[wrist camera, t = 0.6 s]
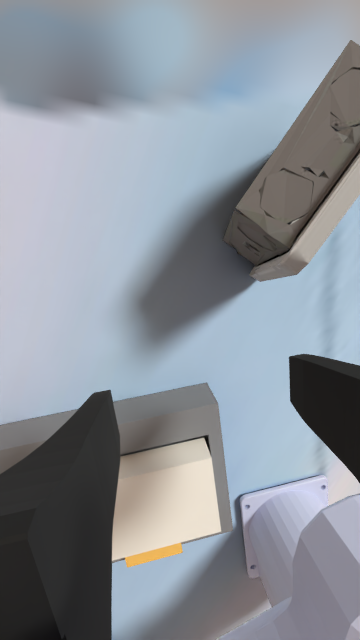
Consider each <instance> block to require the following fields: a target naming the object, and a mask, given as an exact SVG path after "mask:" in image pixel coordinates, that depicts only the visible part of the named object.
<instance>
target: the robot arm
mask: <svg viewBox="0 0 360 640" xmlns="http://www.w3.org/2000/svg"><path fill="white" fill-rule="evenodd" d="M289 369H290V401H291V403H292V404H293V406H294V407H295V409H296V411H297V412H298V413H299V415H300V416H301V418H302V419H303V420H304V422H305V423H306V424H307V425H308V426H309V427H310V428H311V429H312V430H313V431H314V433H315V434H316V435H317V436H318V437H319V438H320V439H321V440H322V441H323V442H324V443H325V444H326V445H327V446H328V447H329V449H330V450H331V451H332V452H333V453H334V454H335V455H336V456H337V457H338V458H339V459H340V460H341V461H342V462H343V463H344V464H345V466H346V467H347V468H348V469H349V470H350V471H351V473H352V474H353V475H354V476H355V477H356V479H357V480H358V481H359V483H360V366H359V365H354V364H350V363H346V362H342V361H337V360H333V359H329V358H325V357H320V356H315V355H309V354H300V355H295V356H290V357H289ZM119 468H120V434H119V429H118V424H117V419H116V414H115V410H114V405H113V400H112V395H111V390H107V391H101V392H96V393H93V394H92V395H91V396H90V397H89V398H88V399H87V401H86V402H85V403H84V404H83V405H82V406H81V407H80V408H79V409H78V410H77V411H76V412H75V413H74V415H73V416H72V417H71V418H70V419H69V420H68V421H67V422H66V423H65V424H64V425H63V426H62V427H60V428H59V429H58V430H57V431H56V432H55V433H54V434H53V435H52V436H51V437H50V438H49V439H48V440H46V441H45V442H44V443H43V444H42V445H40V446H39V447H38V448H37V449H35V450H34V451H33V452H32V453H30V454H29V455H28V456H26V457H25V458H24V459H22V460H21V461H19V462H18V463H16V464H15V465H13V466H12V467H10V468H9V469H7V470H6V471H4V472H3V473H1V474H0V640H111V590H112V532H113V519H114V511H115V502H116V494H117V486H118V477H119ZM240 508H241V518H242V527H243V536H244V546H245V555H246V565H247V573H248V576H249V577H250V578H252V579H253V578H257V577H260V578H261V581H262V583H263V586H264V588H265V591H266V593H267V596H268V599H269V601H270V604H271V606H272V608H270V609H268V610H266V611H265V612H263V613H261V614H259V615H258V616H256V617H254V618H252V619H251V620H249V621H247V622H245V623H244V624H242V625H240V626H238V627H236V628H235V629H233V630H231V631H229V632H228V633H226V634H224V635H222V636H221V637H219V638H217V639H215V640H360V494H356V495H352V496H348V497H346V498H344V499H342V500H340V501H338V502H336V503H334V504H332V505H329V506H328V479H327V478H326V477H325V476H324V475H320V476H316V477H312V478H308V479H304V480H300V481H296V482H292V483H288V484H284V485H281V486H277V487H273V488H269V489H265V490H261V491H257V492H253V493H249V494H245V495H243V496H242V497H241V498H240Z"/></svg>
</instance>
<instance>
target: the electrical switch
mask: <svg viewBox="0 0 360 640" xmlns="http://www.w3.org/2000/svg"><path fill="white" fill-rule="evenodd" d="M359 195H360V46H359V45H358V44H356V43H355V42H353V41H352V40H350V42H349V43H348V45H347V46H346V47H345V49H344V50H343V52H342V53H341V55H340V56H339V58H338V59H337V61H336V62H335V63H334V65H333V66H332V68H331V69H330V71H329V72H328V74H327V75H326V77H325V78H324V79H323V81H322V82H321V84H320V85H319V87H318V88H317V90H316V91H315V93H314V94H313V95H312V97H311V98H310V100H309V101H308V103H307V104H306V106H305V107H304V109H303V110H302V111H301V113H300V114H299V116H298V117H297V119H296V120H295V122H294V123H293V125H292V126H291V127H290V129H289V130H288V132H287V133H286V135H285V136H284V138H283V139H282V141H281V142H280V143H279V145H278V146H277V148H276V149H275V151H274V152H273V154H272V155H271V157H270V158H269V159H268V161H267V162H266V164H265V165H264V167H263V168H262V170H261V171H260V173H259V174H258V175H257V177H256V178H255V180H254V181H253V183H252V184H251V186H250V187H249V189H248V190H247V191H246V193H245V194H244V196H243V197H242V199H241V200H240V202H239V203H238V205H237V206H236V207H235V209H237V210H238V211H240V212H241V213H242V214H240V213H238V212H237V211H235V210H234V212H233V214H232V217H231V220H230V222H229V225H228V228H227V230H226V233H225V236H224V238H223V241H224V242H226V243H227V244H229V245H230V246H232V247H233V248H235V249H236V250H237V253H238V254H240V255H242V256H243V257H245V258H246V259H248V260H249V261H251V262H252V263H253V264H254V265H255V266H254V268H253V269H252V270H251V272H250V274H249V275H250V276H251V277H253V278H255V279H256V280H258V281H260V282H261V281H266V280H271V279H277V278H282V277H287V276H292V275H297V274H298V273H299V272H300V271H301V270H302V269H303V268H304V267H305V266H306V265H307V264H308V263H309V262H310V261H311V259H312V258H313V257H314V255H315V254H316V253H317V251H318V250H319V249H320V247H321V246H322V245H323V243H324V242H325V240H326V239H327V238H328V236H329V235H330V234H331V232H332V231H333V230H334V228H335V227H336V226H337V224H338V223H339V222H340V220H341V219H342V218H343V216H344V215H345V214H346V212H347V211H348V210H349V208H350V207H351V205H352V204H353V203H354V201H355V200H356V199H357V197H358V196H359Z"/></svg>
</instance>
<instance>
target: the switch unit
mask: <svg viewBox="0 0 360 640" xmlns="http://www.w3.org/2000/svg"><path fill="white" fill-rule="evenodd" d="M113 405H114V410H115V414H116V419H117V424H118V429H119V434H120V457H121V456H125V455H130V454H134V453H138V452H143V451H147V450H151V449H156V448H160V447H165V446H169V445H173V444H178V443H182V442H187V441H191V440H195V439H200V438H204V439H205V442H206V444H207V447H208V450H209V452H210V455H211V458H212V465H213V473H214V480H215V488H216V495H217V503H218V510H219V518H220V526H221V532H218V533H215V534H211V535H207V536H203V537H200V538H196V539H192V540H188V541H185V542H181V543H177V544H173V545H170V546H166V547H162V548H158V549H155V550H151V551H147V552H143V553H140V554H136V555H132V556H129V557H125V558H121V559H117V560H114V561H112V563H114V562H117V561H121V560H126V564H127V567H131V566H135V565H138V564H142V563H146V562H149V561H153V560H157V559H160V558H164V557H168V556H171V555H175V554H179V553H182V546H181V544H185V543H188V542H192V541H196V540H200V539H203V538H207V537H211V536H214V535H218V534H222V533H226V532H229V531H233V527H232V518H231V510H230V501H229V493H228V484H227V476H226V467H225V459H224V450H223V442H222V433H221V425H220V416H219V408H218V402H217V401H216V399H215V397H214V395H213V393H212V391H211V389H210V388H209V386H208V384H207V383H203V384H198V385H193V386H188V387H183V388H178V389H173V390H168V391H164V392H159V393H154V394H149V395H144V396H139V397H134V398H130V399H125V400H120V401H115V402H113ZM77 410H78V409H76V410H71V411H66V412H62V413H57V414H52V415H47V416H42V417H37V418H32V419H28V420H23V421H18V422H13V423H8V424H3V425H0V474H1V473H3V472H4V471H6V470H7V469H9V468H10V467H12V466H13V465H15V464H16V463H18V462H19V461H21V460H22V459H24V458H25V457H26V456H28V455H29V454H30V453H32V452H33V451H34V450H35V449H37V448H38V447H39V446H40V445H42V444H43V443H44V442H45V441H46V440H48V439H49V438H50V437H51V436H52V435H53V434H54V433H55V432H56V431H57V430H58V429H59V428H60V427H62V426H63V425H64V424H65V423H66V422H67V421H68V420H69V419H70V418H71V417H72V416H73V415H74V413H75V412H76V411H77Z"/></svg>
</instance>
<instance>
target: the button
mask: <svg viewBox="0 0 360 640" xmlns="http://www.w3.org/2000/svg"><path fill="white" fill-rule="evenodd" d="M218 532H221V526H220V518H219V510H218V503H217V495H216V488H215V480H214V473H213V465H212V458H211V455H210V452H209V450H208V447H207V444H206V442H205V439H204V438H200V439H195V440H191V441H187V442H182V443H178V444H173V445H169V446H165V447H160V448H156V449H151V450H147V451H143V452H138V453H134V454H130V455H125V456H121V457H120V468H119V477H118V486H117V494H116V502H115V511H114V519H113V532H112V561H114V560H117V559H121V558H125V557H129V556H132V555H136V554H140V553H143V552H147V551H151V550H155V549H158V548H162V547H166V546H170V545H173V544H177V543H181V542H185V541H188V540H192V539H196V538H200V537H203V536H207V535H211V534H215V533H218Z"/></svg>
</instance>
